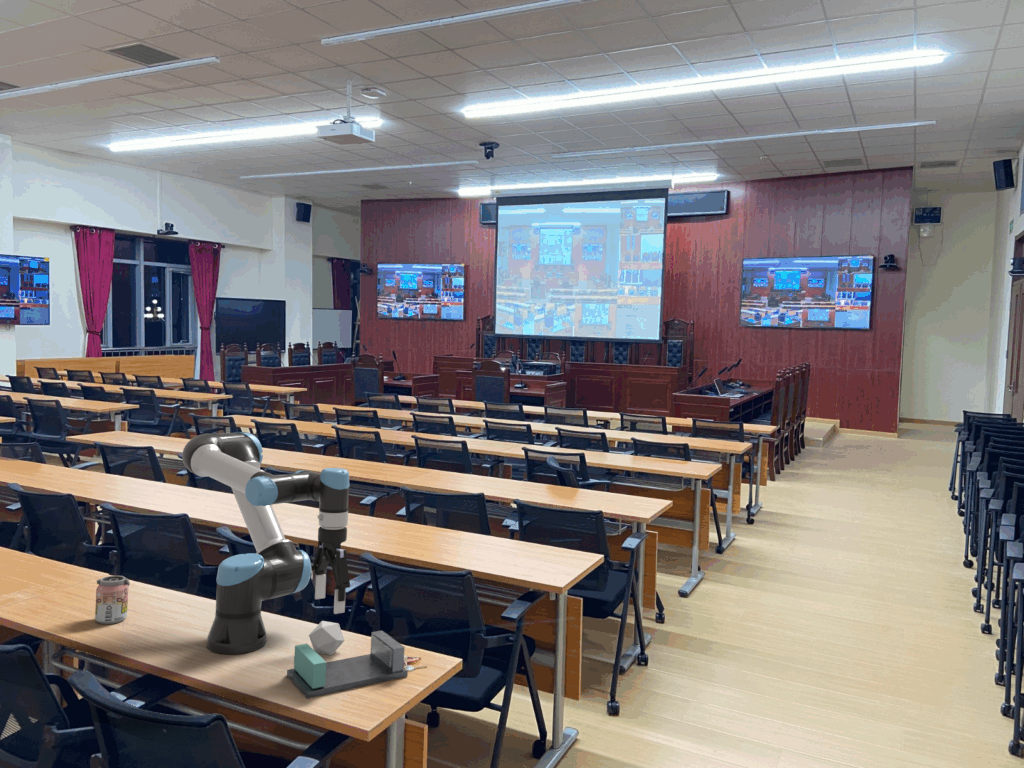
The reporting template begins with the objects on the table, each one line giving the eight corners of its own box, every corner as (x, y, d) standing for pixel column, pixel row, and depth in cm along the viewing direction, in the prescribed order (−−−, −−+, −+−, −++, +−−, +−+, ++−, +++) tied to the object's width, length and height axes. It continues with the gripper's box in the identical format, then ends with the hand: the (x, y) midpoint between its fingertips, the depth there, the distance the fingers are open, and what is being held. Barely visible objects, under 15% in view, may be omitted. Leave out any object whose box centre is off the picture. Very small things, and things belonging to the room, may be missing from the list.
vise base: (286, 676, 182) (288, 645, 182) (383, 657, 197) (384, 629, 197) (306, 698, 171) (308, 666, 171) (407, 676, 186) (409, 647, 186)
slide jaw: (293, 668, 183) (295, 645, 183) (307, 665, 185) (308, 643, 185) (312, 688, 172) (314, 664, 172) (326, 685, 174) (328, 661, 174)
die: (348, 651, 201) (338, 618, 205) (344, 647, 194) (334, 611, 198) (319, 663, 199) (309, 629, 203) (313, 659, 192) (304, 623, 196)
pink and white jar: (99, 614, 216) (101, 573, 216) (131, 613, 219) (133, 573, 218) (90, 625, 208) (92, 583, 207) (123, 624, 210) (125, 582, 210)
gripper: (302, 518, 206) (299, 594, 206) (337, 537, 185) (333, 621, 186) (328, 516, 210) (325, 590, 210) (365, 534, 190) (361, 617, 190)
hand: (329, 605), depth 198 cm, fingers open, 13 cm apart
